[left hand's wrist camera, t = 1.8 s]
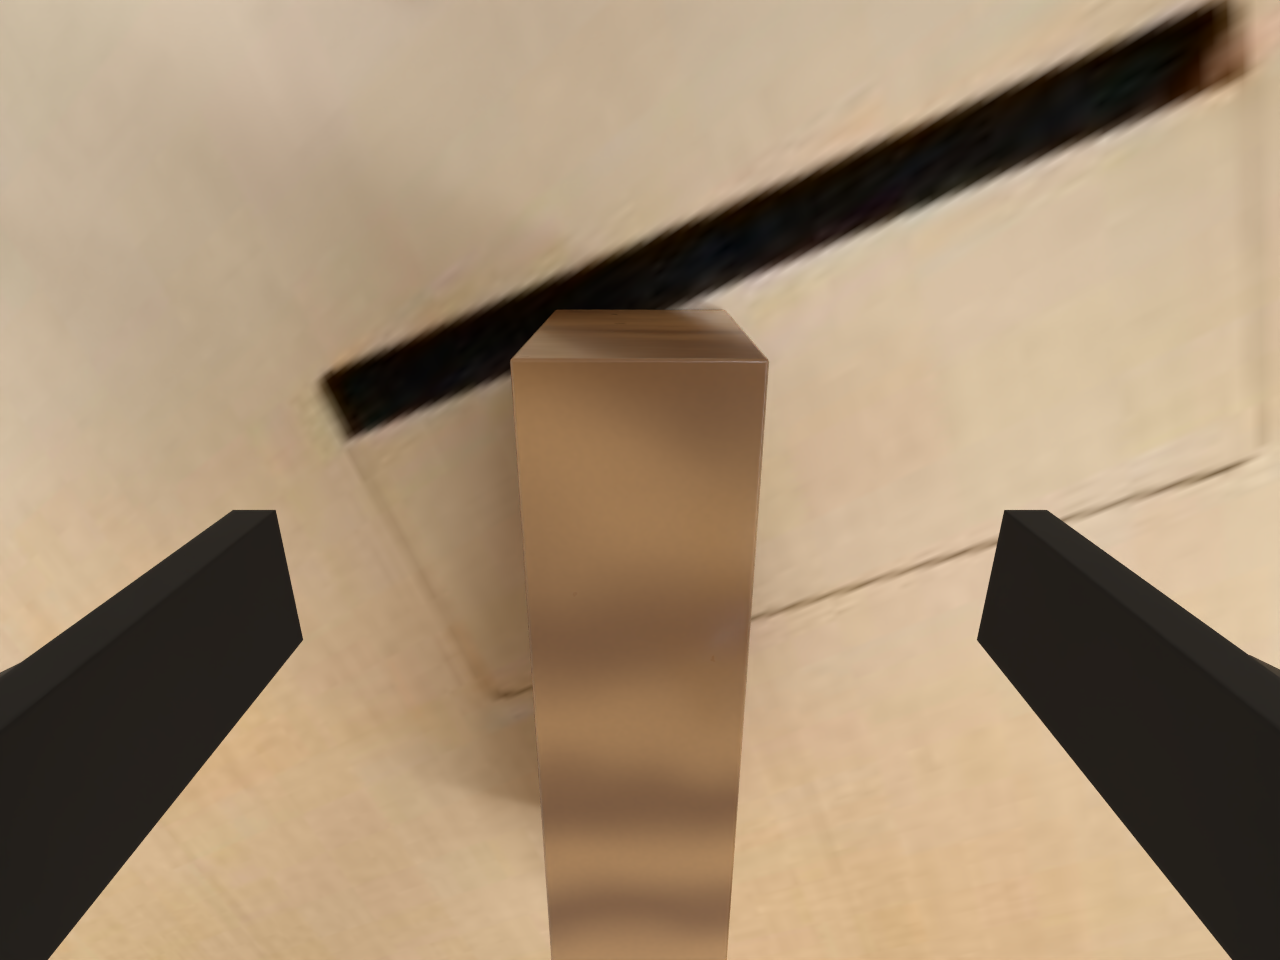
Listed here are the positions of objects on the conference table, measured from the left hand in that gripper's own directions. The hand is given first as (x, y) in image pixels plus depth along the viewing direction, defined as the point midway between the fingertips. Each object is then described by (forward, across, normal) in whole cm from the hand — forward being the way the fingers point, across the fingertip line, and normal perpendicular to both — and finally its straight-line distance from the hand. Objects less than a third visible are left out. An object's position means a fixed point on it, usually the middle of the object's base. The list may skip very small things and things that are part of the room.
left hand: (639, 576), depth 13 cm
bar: (+13, 0, -9) cm, 16 cm away
